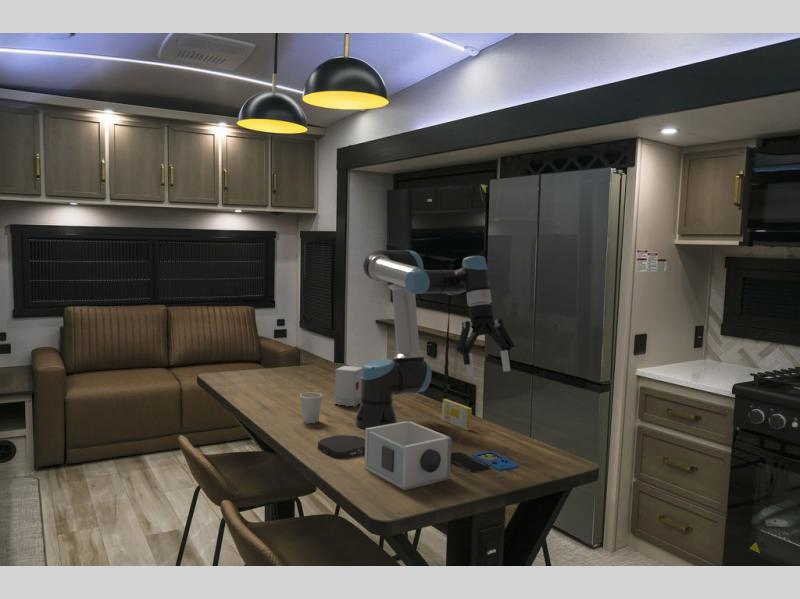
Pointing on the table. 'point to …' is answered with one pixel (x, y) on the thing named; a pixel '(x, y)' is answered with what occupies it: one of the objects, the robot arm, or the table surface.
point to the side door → (385, 456)
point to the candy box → (456, 414)
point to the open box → (416, 453)
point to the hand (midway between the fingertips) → (489, 373)
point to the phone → (467, 462)
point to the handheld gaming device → (497, 461)
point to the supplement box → (348, 385)
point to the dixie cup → (311, 406)
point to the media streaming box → (342, 446)
